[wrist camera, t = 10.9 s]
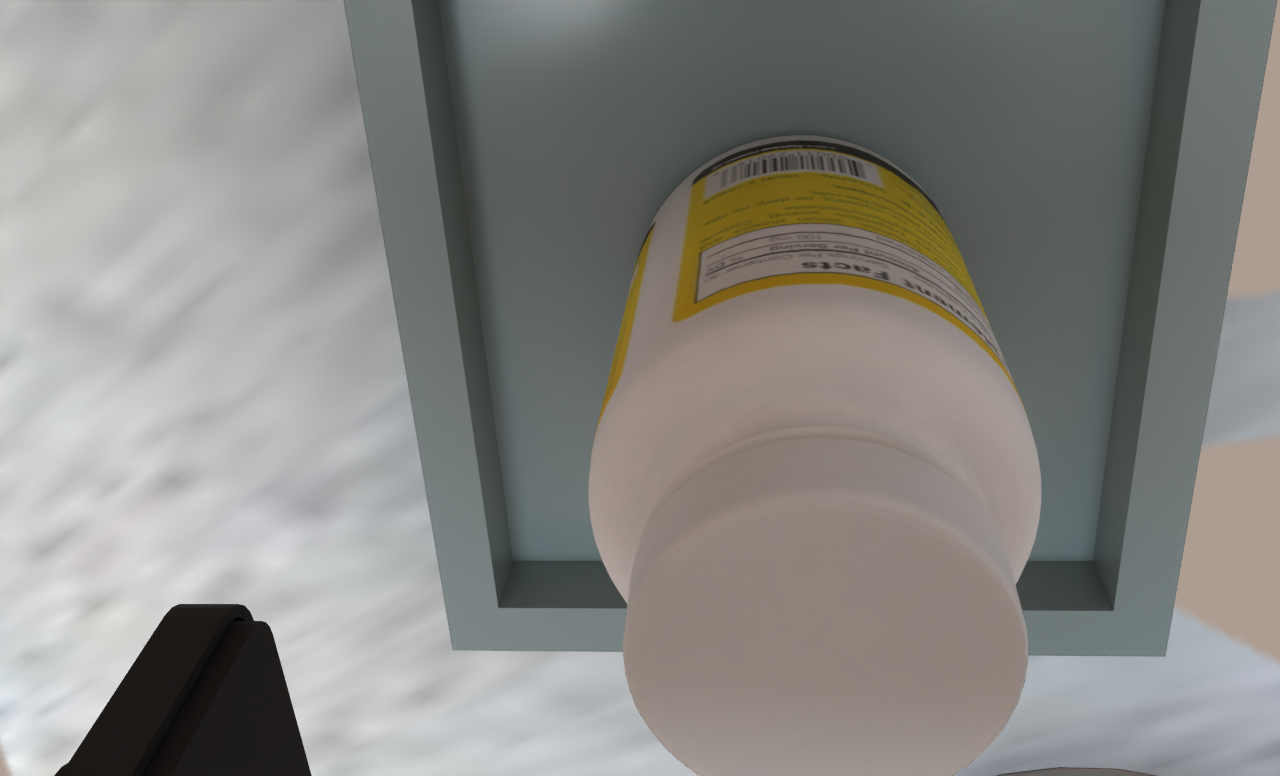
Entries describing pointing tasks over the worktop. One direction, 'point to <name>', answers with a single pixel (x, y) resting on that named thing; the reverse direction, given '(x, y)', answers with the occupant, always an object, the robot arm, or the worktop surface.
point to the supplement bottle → (813, 475)
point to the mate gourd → (1077, 772)
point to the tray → (840, 109)
